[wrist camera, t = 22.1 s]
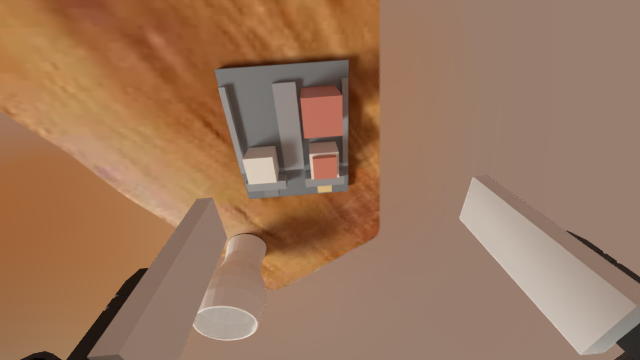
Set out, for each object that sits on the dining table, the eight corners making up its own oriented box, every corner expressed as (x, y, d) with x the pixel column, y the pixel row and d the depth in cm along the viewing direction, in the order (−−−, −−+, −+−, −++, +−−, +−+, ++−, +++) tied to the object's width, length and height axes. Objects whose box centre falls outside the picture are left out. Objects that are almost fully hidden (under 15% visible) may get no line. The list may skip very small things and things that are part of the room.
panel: (218, 68, 30) (206, 71, 26) (346, 59, 30) (352, 61, 27) (250, 193, 40) (245, 207, 37) (346, 186, 40) (350, 199, 37)
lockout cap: (304, 121, 33) (304, 138, 27) (301, 87, 30) (300, 98, 24) (335, 118, 33) (342, 135, 27) (334, 85, 30) (342, 95, 24)
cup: (272, 228, 45) (259, 303, 32) (274, 264, 50) (264, 341, 37) (216, 227, 44) (179, 304, 31) (224, 264, 49) (196, 343, 36)
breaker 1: (248, 147, 34) (242, 159, 31) (275, 145, 34) (272, 157, 31) (254, 171, 36) (248, 184, 33) (279, 169, 36) (276, 182, 33)
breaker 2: (308, 143, 34) (309, 156, 30) (335, 141, 34) (339, 154, 30) (310, 166, 36) (311, 182, 32) (335, 164, 36) (339, 180, 32)
